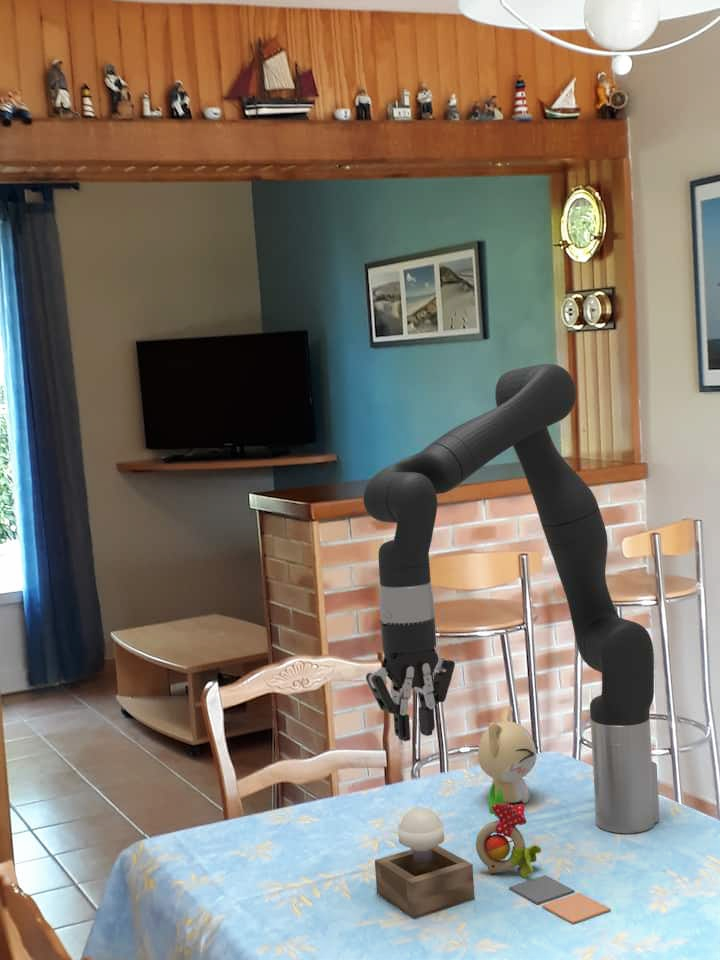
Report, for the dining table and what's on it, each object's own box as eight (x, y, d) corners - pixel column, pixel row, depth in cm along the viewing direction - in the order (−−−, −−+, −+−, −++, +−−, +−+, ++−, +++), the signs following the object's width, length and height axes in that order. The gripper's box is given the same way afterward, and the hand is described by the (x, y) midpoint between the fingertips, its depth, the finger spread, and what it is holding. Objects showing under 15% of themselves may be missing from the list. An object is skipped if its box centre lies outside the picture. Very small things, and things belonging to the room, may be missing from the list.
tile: (579, 894, 166) (579, 892, 166) (610, 910, 160) (610, 908, 160) (542, 907, 163) (541, 905, 163) (572, 924, 157) (572, 922, 157)
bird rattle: (492, 896, 172) (549, 872, 170) (457, 827, 172) (514, 803, 170) (496, 879, 178) (551, 855, 176) (462, 812, 178) (516, 788, 176)
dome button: (429, 846, 172) (426, 797, 172) (454, 860, 167) (451, 809, 166) (391, 857, 169) (388, 807, 169) (415, 871, 164) (412, 820, 163)
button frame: (435, 876, 175) (433, 842, 175) (474, 899, 167) (472, 864, 166) (376, 894, 170) (374, 860, 170) (414, 918, 162) (411, 883, 161)
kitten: (528, 819, 195) (523, 729, 194) (469, 815, 199) (464, 727, 198) (547, 788, 209) (543, 704, 208) (492, 785, 213) (487, 702, 212)
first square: (545, 877, 172) (545, 875, 172) (574, 892, 167) (574, 890, 167) (508, 888, 169) (508, 886, 169) (537, 904, 164) (537, 902, 164)
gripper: (434, 604, 172) (442, 721, 173) (350, 619, 165) (358, 741, 167) (464, 611, 166) (471, 733, 167) (377, 627, 159) (385, 754, 160)
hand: (415, 736), depth 167 cm, fingers open, 3 cm apart
